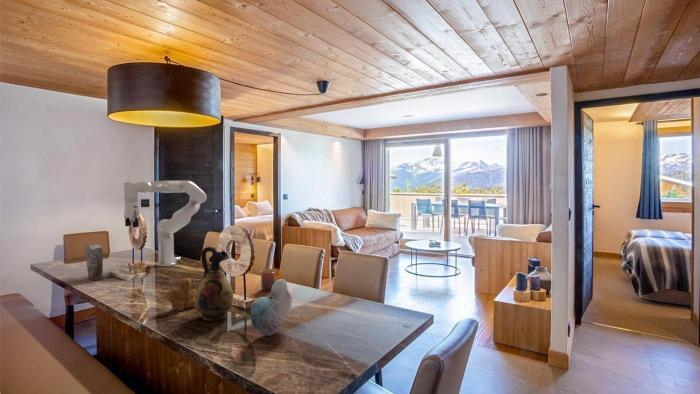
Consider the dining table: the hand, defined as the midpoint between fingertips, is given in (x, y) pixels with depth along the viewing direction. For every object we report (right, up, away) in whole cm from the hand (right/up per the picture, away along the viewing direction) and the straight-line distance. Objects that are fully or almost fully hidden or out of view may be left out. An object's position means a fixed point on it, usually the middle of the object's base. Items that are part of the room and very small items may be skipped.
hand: (131, 226), depth 236 cm
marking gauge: (+13, -27, -17) cm, 34 cm away
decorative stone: (+114, -33, -99) cm, 154 cm away
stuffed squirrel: (+67, -32, -71) cm, 103 cm away
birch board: (+6, -29, -15) cm, 33 cm away
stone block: (-9, -29, -21) cm, 37 cm away
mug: (+100, -31, -42) cm, 112 cm away
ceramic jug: (+85, -32, -82) cm, 122 cm away
